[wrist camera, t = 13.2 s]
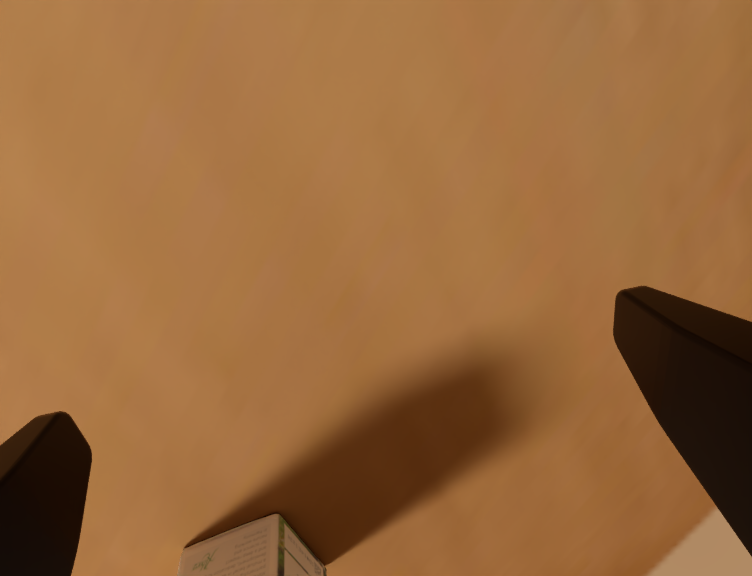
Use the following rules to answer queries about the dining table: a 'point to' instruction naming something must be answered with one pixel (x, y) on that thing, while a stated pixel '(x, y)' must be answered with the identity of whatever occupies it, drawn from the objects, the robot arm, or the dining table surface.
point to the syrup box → (252, 552)
